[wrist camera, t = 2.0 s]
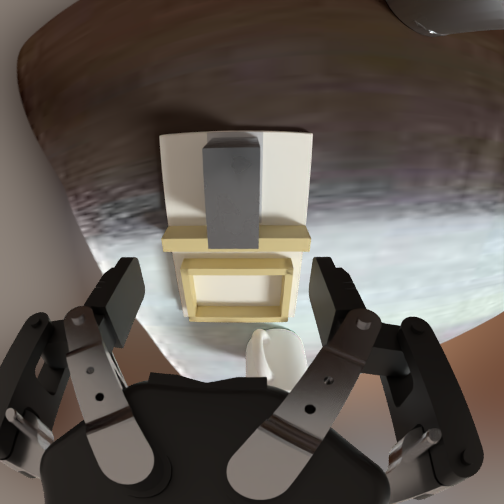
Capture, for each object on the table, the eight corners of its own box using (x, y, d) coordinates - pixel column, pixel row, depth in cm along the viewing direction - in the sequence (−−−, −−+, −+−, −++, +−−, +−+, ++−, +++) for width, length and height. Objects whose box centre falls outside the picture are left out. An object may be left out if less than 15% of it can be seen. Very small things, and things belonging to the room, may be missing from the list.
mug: (225, 317, 36) (220, 383, 27) (285, 299, 34) (296, 366, 25) (257, 366, 41) (259, 423, 33) (308, 353, 40) (319, 411, 31)
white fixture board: (162, 134, 24) (149, 140, 21) (310, 132, 24) (320, 138, 21) (185, 311, 35) (180, 332, 32) (293, 311, 35) (297, 333, 32)
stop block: (212, 137, 23) (202, 148, 18) (257, 137, 23) (260, 147, 18) (215, 218, 27) (208, 249, 22) (256, 218, 27) (258, 248, 22)
